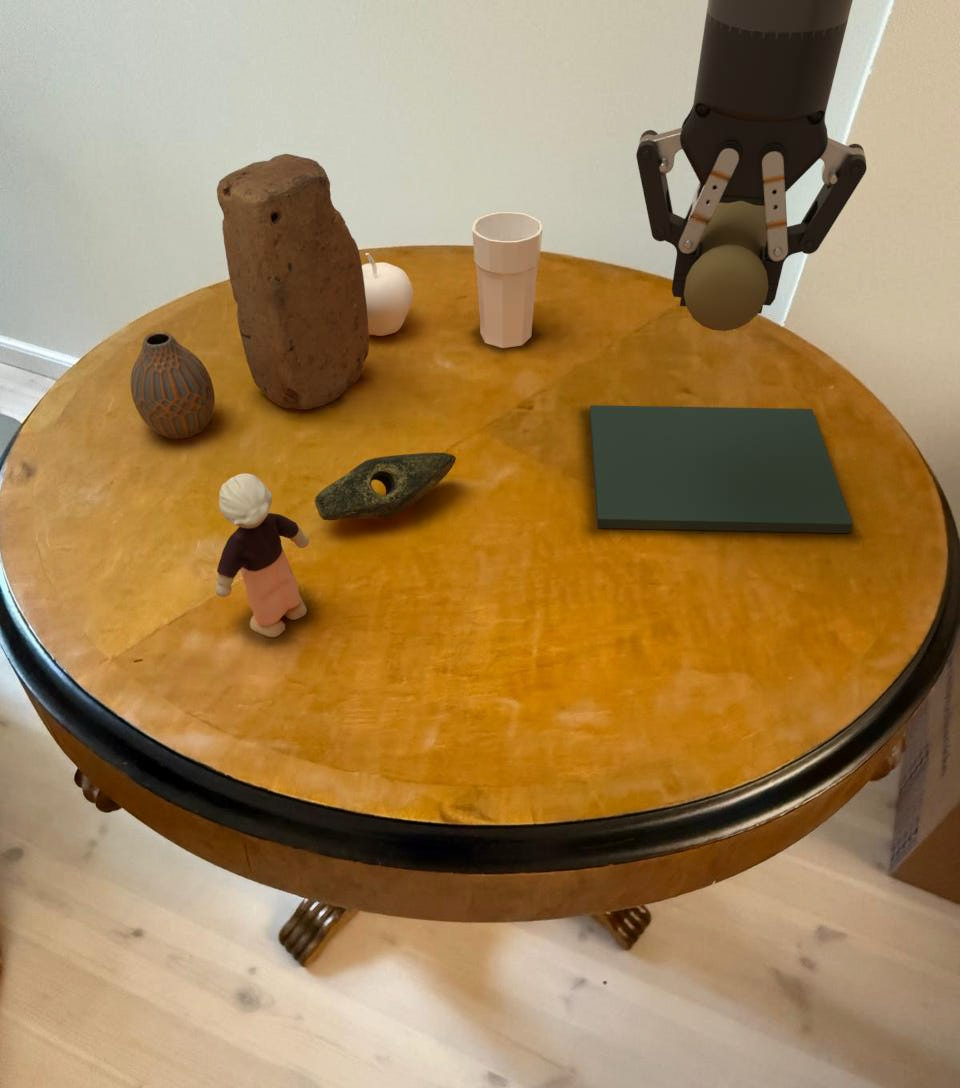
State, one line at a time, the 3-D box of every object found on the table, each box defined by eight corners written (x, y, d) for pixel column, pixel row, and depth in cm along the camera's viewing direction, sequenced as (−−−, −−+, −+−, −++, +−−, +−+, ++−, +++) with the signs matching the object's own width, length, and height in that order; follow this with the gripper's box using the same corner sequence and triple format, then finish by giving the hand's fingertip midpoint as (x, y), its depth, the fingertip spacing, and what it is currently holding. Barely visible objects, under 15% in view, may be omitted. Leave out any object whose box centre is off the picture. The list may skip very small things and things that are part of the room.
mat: (809, 417, 84) (812, 408, 84) (849, 533, 74) (853, 523, 73) (589, 414, 85) (590, 404, 84) (597, 528, 74) (598, 518, 74)
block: (290, 425, 84) (248, 199, 70) (245, 391, 88) (196, 171, 73) (384, 380, 89) (363, 161, 75) (337, 350, 93) (309, 136, 78)
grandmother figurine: (285, 579, 71) (254, 440, 61) (326, 596, 69) (301, 457, 60) (219, 644, 66) (174, 505, 57) (261, 664, 65) (222, 525, 55)
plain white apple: (335, 321, 97) (325, 245, 91) (397, 305, 99) (391, 230, 93) (362, 352, 93) (353, 275, 87) (426, 334, 95) (421, 258, 89)
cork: (686, 271, 68) (677, 348, 61) (684, 186, 64) (674, 259, 57) (772, 264, 67) (773, 343, 59) (776, 177, 62) (777, 250, 55)
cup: (460, 331, 95) (457, 224, 87) (511, 312, 98) (513, 206, 90) (499, 358, 92) (500, 249, 84) (551, 337, 94) (557, 229, 86)
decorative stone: (391, 563, 72) (386, 513, 68) (311, 532, 74) (302, 482, 71) (462, 485, 78) (460, 435, 75) (386, 459, 81) (381, 409, 77)
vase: (210, 397, 88) (187, 310, 81) (230, 436, 83) (208, 347, 77) (136, 416, 85) (107, 329, 79) (153, 457, 81) (124, 368, 75)
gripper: (639, 18, 49) (609, 322, 61) (923, 32, 47) (831, 343, 59) (651, -18, 54) (621, 270, 66) (908, -7, 52) (826, 288, 64)
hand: (721, 303), depth 63 cm, fingers closed on cork, 4 cm apart
